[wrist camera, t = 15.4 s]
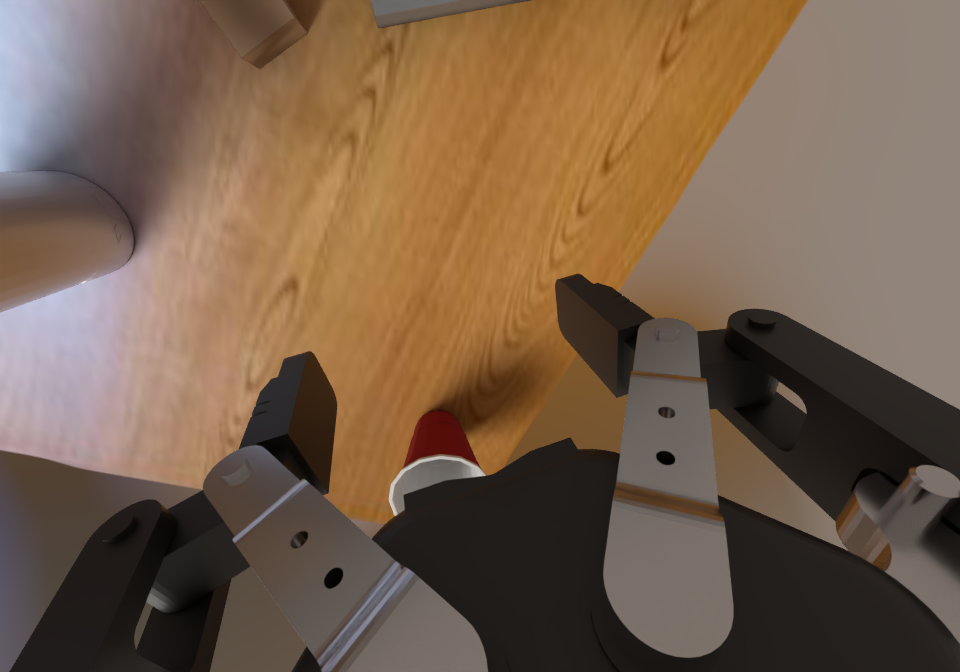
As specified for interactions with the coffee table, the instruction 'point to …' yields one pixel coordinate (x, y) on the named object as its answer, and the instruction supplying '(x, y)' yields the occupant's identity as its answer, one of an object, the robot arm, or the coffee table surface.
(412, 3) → the tray
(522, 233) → the coffee table surface
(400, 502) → the plastic cup
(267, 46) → the walnut block
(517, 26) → the coffee table surface
